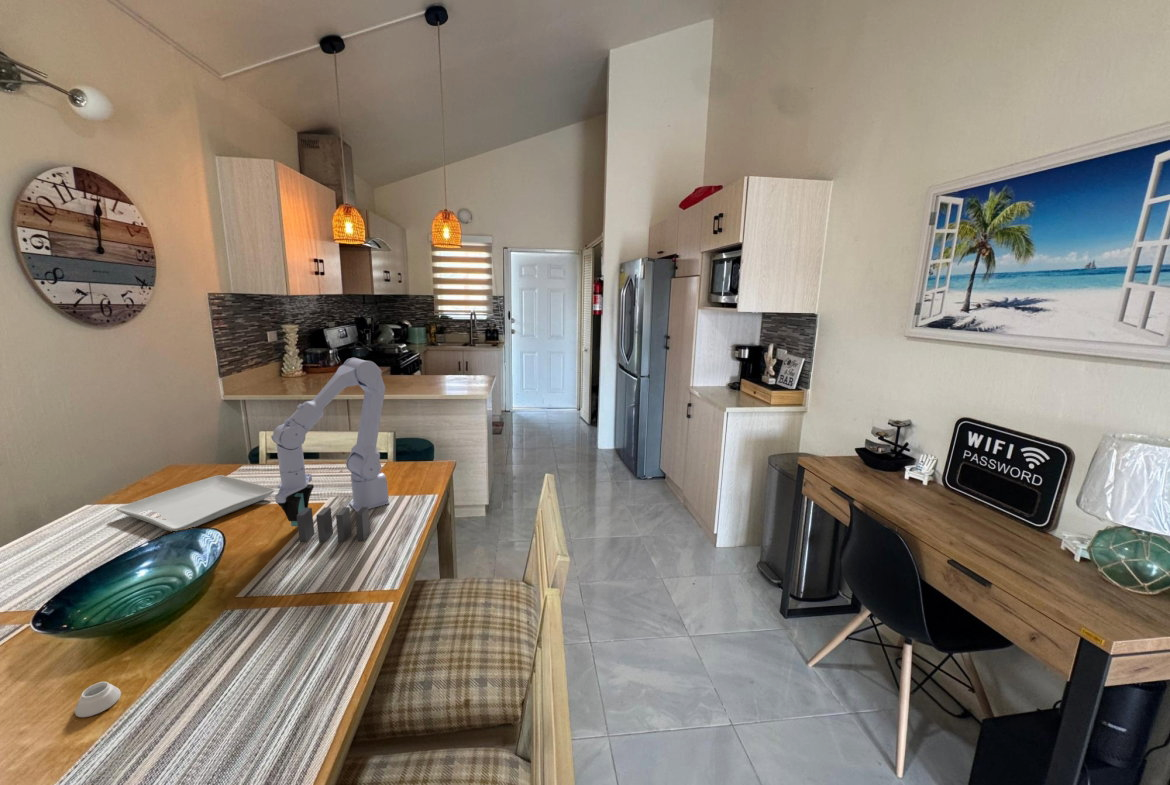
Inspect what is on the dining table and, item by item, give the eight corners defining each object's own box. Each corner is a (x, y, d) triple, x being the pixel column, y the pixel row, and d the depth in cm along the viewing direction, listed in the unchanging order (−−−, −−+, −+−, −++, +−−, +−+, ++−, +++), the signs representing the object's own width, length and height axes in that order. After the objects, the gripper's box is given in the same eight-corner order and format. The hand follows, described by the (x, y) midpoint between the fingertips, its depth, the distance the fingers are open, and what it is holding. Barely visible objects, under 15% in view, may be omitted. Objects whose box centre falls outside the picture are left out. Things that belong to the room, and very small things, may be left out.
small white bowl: (129, 689, 77) (91, 694, 76) (125, 674, 77) (88, 679, 75) (106, 716, 72) (66, 722, 71) (102, 699, 72) (62, 705, 71)
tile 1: (370, 532, 127) (368, 506, 126) (363, 541, 123) (361, 514, 121) (364, 532, 127) (362, 507, 125) (357, 541, 123) (355, 514, 121)
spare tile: (306, 518, 131) (303, 493, 130) (297, 526, 127) (294, 500, 125) (300, 518, 131) (296, 493, 129) (291, 526, 127) (288, 500, 125)
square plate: (115, 520, 132) (113, 507, 131) (221, 484, 156) (219, 473, 155) (175, 541, 122) (173, 527, 121) (278, 499, 146) (276, 487, 146)
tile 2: (351, 533, 127) (349, 507, 125) (344, 541, 123) (342, 514, 121) (345, 533, 127) (343, 507, 125) (338, 541, 122) (335, 514, 121)
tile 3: (333, 533, 126) (330, 507, 125) (325, 541, 122) (322, 515, 121) (327, 533, 126) (324, 507, 125) (319, 542, 122) (316, 515, 120)
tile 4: (314, 533, 126) (311, 507, 125) (306, 542, 122) (303, 515, 120) (308, 533, 126) (305, 507, 124) (299, 542, 122) (296, 515, 120)
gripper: (291, 459, 132) (296, 504, 135) (260, 479, 118) (267, 529, 121) (317, 459, 133) (322, 503, 136) (289, 479, 119) (295, 529, 122)
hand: (298, 516), depth 129 cm, fingers closed on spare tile, 4 cm apart
